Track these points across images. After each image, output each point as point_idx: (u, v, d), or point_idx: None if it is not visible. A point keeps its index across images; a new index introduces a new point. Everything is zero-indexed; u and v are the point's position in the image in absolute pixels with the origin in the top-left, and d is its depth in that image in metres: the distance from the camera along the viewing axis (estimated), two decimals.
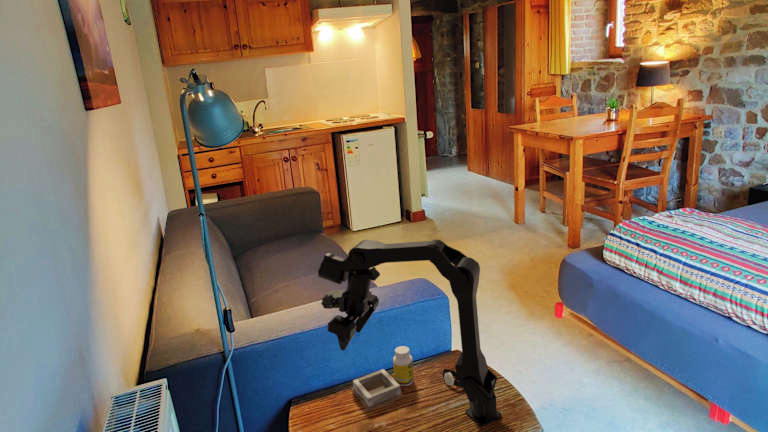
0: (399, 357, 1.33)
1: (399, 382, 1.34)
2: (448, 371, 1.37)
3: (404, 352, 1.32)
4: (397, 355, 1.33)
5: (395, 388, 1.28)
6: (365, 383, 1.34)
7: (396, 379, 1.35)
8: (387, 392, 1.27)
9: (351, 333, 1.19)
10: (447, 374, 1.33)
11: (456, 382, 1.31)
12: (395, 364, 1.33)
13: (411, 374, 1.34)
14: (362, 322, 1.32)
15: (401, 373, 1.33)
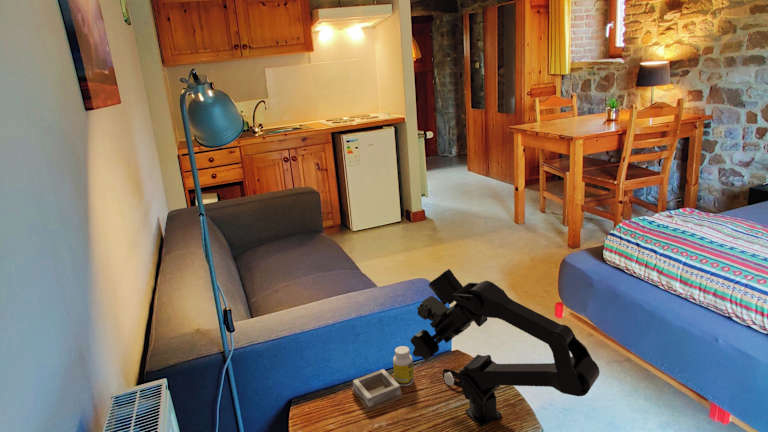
0: (399, 357, 1.33)
1: (399, 382, 1.34)
2: (448, 371, 1.37)
3: (404, 352, 1.32)
4: (397, 355, 1.33)
5: (395, 388, 1.28)
6: (365, 383, 1.34)
7: (396, 379, 1.35)
8: (387, 392, 1.27)
9: None
10: (447, 373, 1.33)
11: (456, 381, 1.31)
12: (395, 364, 1.33)
13: (411, 374, 1.34)
14: None
15: (401, 373, 1.33)
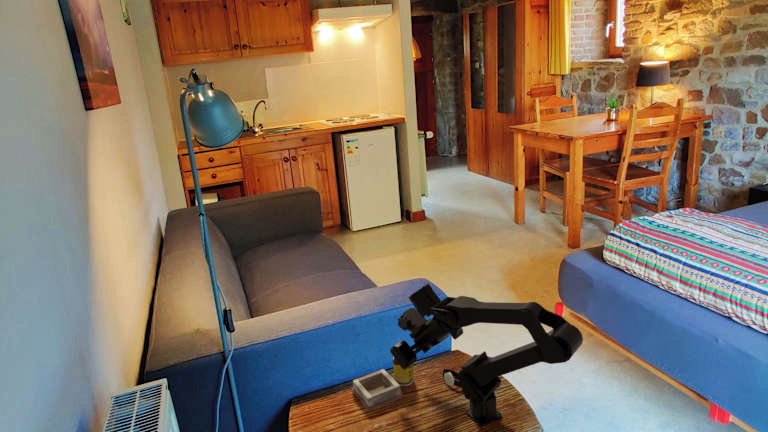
0: None
1: (399, 382, 1.34)
2: (448, 371, 1.37)
3: None
4: None
5: (395, 388, 1.28)
6: (365, 383, 1.34)
7: (396, 379, 1.35)
8: (387, 392, 1.27)
9: (408, 366, 1.22)
10: (447, 374, 1.33)
11: (456, 381, 1.31)
12: None
13: (411, 374, 1.34)
14: None
15: (401, 373, 1.33)
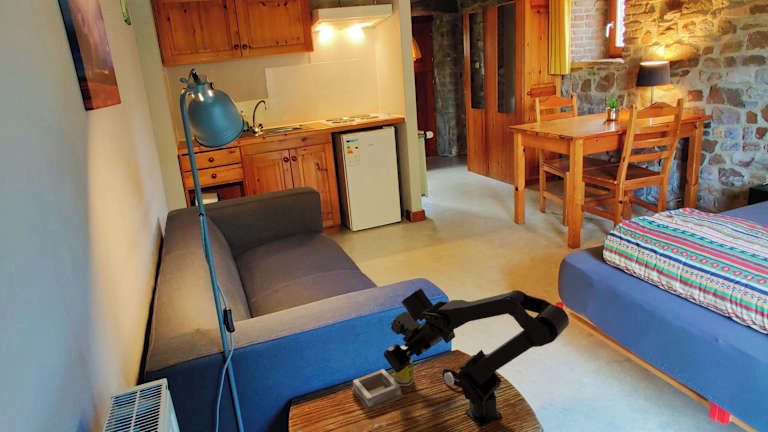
0: None
1: (399, 382, 1.34)
2: (448, 371, 1.37)
3: None
4: None
5: (395, 388, 1.28)
6: (365, 383, 1.34)
7: (396, 379, 1.35)
8: (387, 392, 1.27)
9: None
10: (447, 374, 1.33)
11: (456, 381, 1.31)
12: None
13: (411, 374, 1.34)
14: None
15: (401, 373, 1.33)
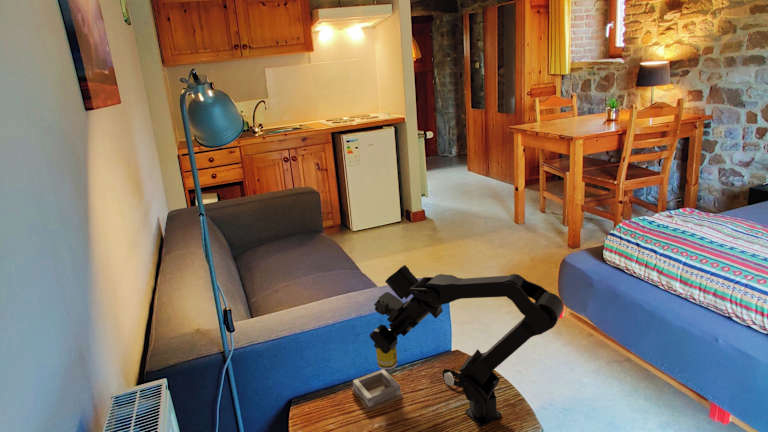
0: None
1: (383, 366, 1.30)
2: (448, 371, 1.37)
3: None
4: None
5: (395, 388, 1.28)
6: (365, 383, 1.34)
7: (380, 363, 1.30)
8: (387, 392, 1.27)
9: None
10: (447, 374, 1.33)
11: (456, 382, 1.31)
12: None
13: (395, 356, 1.31)
14: None
15: (385, 356, 1.29)
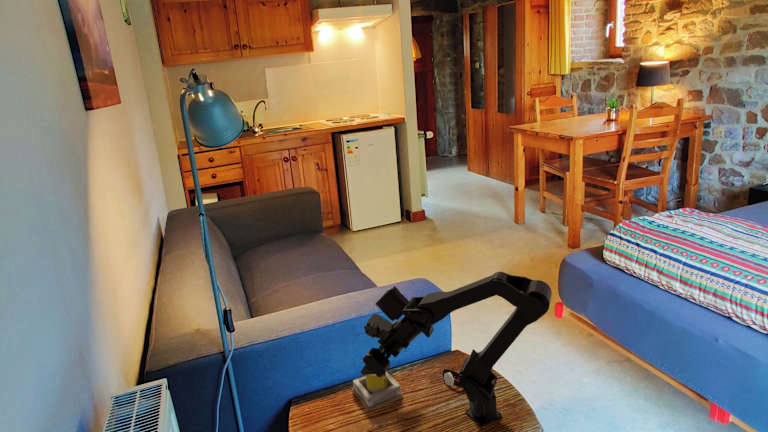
0: None
1: None
2: (448, 371, 1.37)
3: None
4: None
5: (395, 388, 1.28)
6: (365, 383, 1.34)
7: (371, 390, 1.29)
8: (387, 392, 1.27)
9: (384, 373, 1.19)
10: (447, 374, 1.33)
11: (456, 382, 1.31)
12: (369, 375, 1.28)
13: (385, 382, 1.30)
14: None
15: (376, 383, 1.28)
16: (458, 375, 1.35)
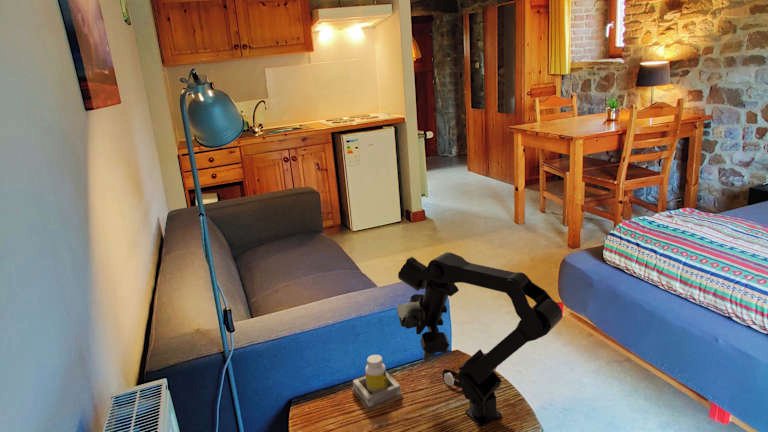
0: (373, 367, 1.28)
1: None
2: (448, 371, 1.37)
3: (378, 361, 1.28)
4: (371, 365, 1.27)
5: (395, 388, 1.28)
6: (365, 383, 1.34)
7: (371, 390, 1.29)
8: (387, 392, 1.27)
9: None
10: (447, 374, 1.33)
11: (456, 382, 1.31)
12: (369, 375, 1.28)
13: (385, 382, 1.30)
14: None
15: (376, 383, 1.28)
16: None
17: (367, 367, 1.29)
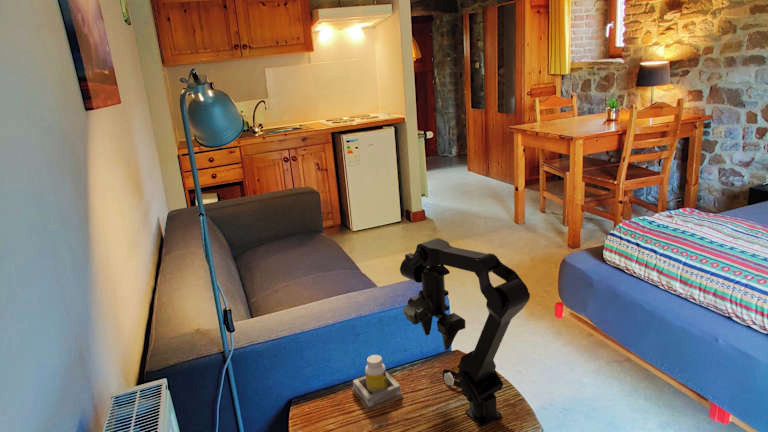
0: (373, 367, 1.28)
1: None
2: (448, 371, 1.37)
3: (378, 361, 1.28)
4: (371, 365, 1.27)
5: (395, 388, 1.28)
6: (365, 383, 1.34)
7: (371, 391, 1.29)
8: (387, 392, 1.27)
9: None
10: (447, 374, 1.33)
11: (456, 382, 1.31)
12: (369, 375, 1.28)
13: (385, 382, 1.30)
14: (429, 322, 1.34)
15: (376, 383, 1.28)
16: None
17: (367, 367, 1.29)
